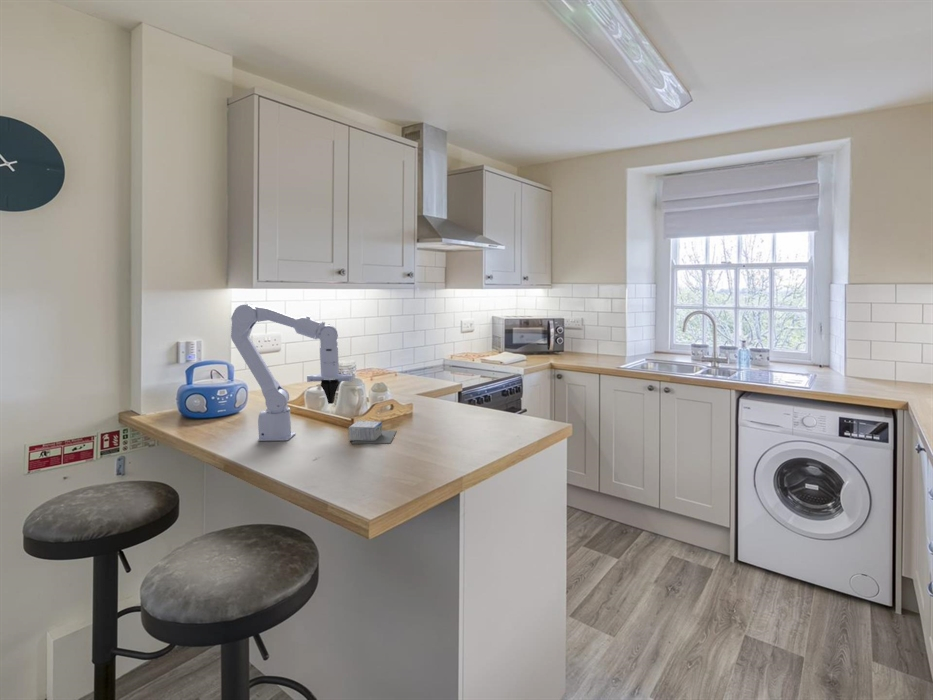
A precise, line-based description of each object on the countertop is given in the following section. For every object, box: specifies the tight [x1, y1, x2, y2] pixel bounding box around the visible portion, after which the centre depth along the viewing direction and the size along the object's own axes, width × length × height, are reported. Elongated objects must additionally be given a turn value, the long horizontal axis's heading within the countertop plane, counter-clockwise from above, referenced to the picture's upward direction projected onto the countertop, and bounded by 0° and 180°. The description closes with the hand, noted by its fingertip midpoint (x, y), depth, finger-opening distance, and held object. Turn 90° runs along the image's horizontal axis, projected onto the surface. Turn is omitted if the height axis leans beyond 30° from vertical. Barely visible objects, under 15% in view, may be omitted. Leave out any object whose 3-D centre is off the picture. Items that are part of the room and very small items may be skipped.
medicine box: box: [348, 420, 383, 441], centre depth 164 cm, size 8×4×9 cm
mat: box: [351, 430, 397, 445], centre depth 165 cm, size 12×14×1 cm
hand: (331, 403), depth 169 cm, fingers closed
